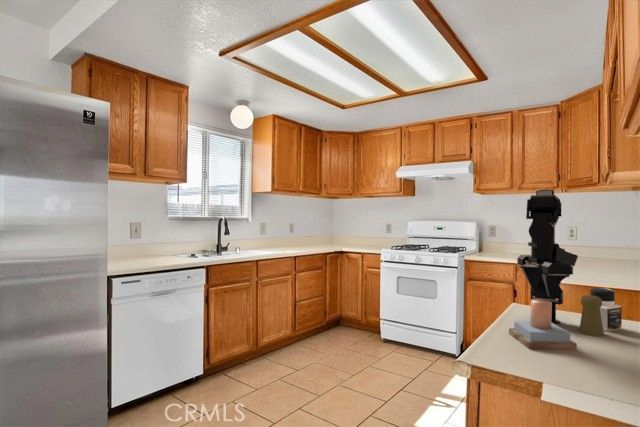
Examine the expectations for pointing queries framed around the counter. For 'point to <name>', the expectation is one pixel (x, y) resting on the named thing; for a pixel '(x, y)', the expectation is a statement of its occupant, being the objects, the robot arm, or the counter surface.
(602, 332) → the olive green tapered piece
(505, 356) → the counter surface
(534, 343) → the walnut slab
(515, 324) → the slate slab
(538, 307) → the terracotta cylinder
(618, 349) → the counter surface
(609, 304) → the medicine bottle
